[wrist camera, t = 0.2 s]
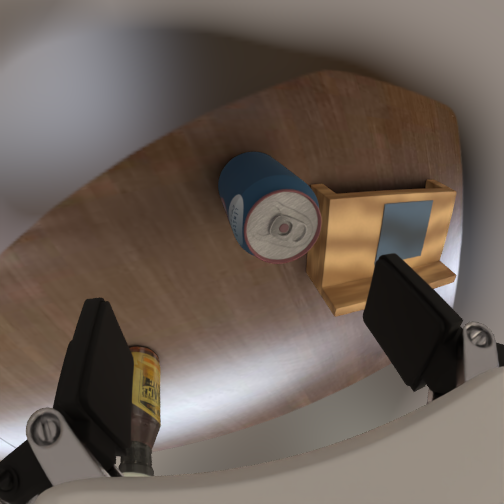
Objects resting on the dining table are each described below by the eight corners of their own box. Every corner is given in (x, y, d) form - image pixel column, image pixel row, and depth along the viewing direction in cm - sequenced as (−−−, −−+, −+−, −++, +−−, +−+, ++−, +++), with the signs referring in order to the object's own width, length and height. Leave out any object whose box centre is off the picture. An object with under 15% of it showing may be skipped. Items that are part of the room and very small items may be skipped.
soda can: (206, 199, 31) (220, 256, 21) (233, 139, 28) (262, 165, 18) (263, 219, 33) (301, 280, 23) (291, 164, 31) (345, 203, 21)
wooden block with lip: (310, 184, 32) (349, 215, 25) (433, 179, 36) (477, 203, 28) (306, 272, 39) (334, 316, 31) (418, 250, 42) (453, 282, 34)
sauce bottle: (165, 366, 42) (173, 485, 25) (129, 371, 41) (126, 486, 25) (152, 339, 39) (153, 471, 22) (113, 344, 38) (101, 471, 21)
